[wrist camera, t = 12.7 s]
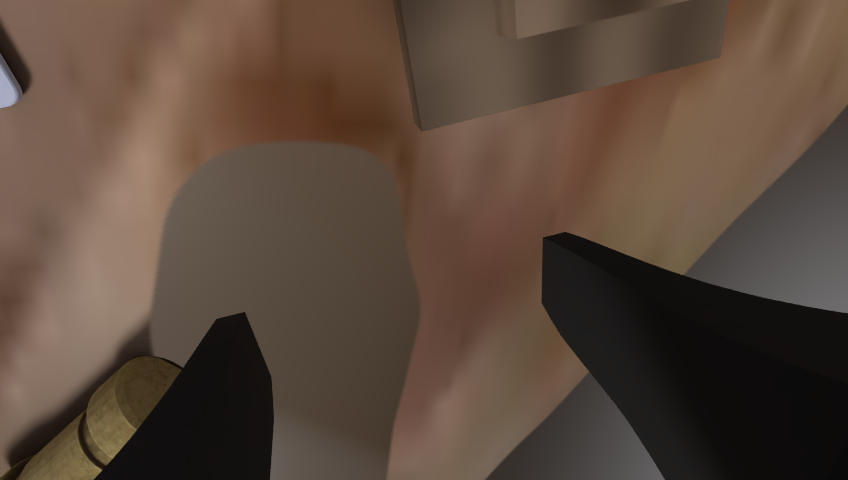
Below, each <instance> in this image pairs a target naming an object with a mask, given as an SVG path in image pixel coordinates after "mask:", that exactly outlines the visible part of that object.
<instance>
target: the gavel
mask: <svg viewBox="0 0 848 480" xmlns="http://www.w3.org/2000/svg"><path fill="white" fill-rule="evenodd" d="M182 369H183V367H181V366H180V365H178V364H176V363H174V362H173V361H170V360H167V359H165V358H161V357H156V356H154V357H150V356H142V357H137V358H135V359H132V360H130V361H129V362H127V363H126V364H124V365H123V366H122V367H121V368H120V369H119V370H118V371H117V372H115V373H114V374H113V375H112V376H111V377H110V378H109V379H108V380H107V381H106V382H105V383H103V384H102V385H101V386H100V387H99V388H98V389H97V390H96V391H95V392H94V394H93V395H92V397H91V399H90V401H89V403H88V407H87V409H86V410H84V411H83V412H82V413H81V414H80V415H79V416H78V417H77V418H76V419H75V420H73V421H72V422H71V423H70V424H69V425H68V426H67V427H66V428H65V429H64V430H63V431H61V432H60V433H59V434H58V435H57V436H56V437H55V438H54V439H53V440H52V441H50V442H49V443H48V444H47V445H46V446H45V447H44V448H43V449H42V450H41V451H39V452H38V453H37V454H36V455H34V456H31V457H28V458H26V459H24V460H22V461H20V462H19V463H17V464H16V465H15V466H13V467H12V468H11V469H10V470H8V471H7V472H6V473H5V474H4V475H3V476H2V477H1V478H0V480H94V479H95V478H96V476H97V475H98V474H99V473H100V472H101V471H102V470H103V469H104V468H105V467H106V465H107V464H108V463H109V462H110V461H111V460H112V459H113V458H114V457H115V455H116V454H117V453H118V452H119V451H120V450H121V448H122V447H123V446H124V445H125V444H126V443H127V441H128V440H129V439H130V438H131V437H132V435H133V434H134V433H135V432H136V430H137V429H138V428H139V427H140V425H141V424H142V423H143V421H144V420H145V419H146V417H147V416H148V415H149V414H150V412H151V411H152V410H153V408H154V407H155V406H156V405H157V403H158V402H159V401H160V399H161V398H162V397H163V396H164V394H165V393H166V391H167V390H168V389H169V387H170V386H171V384H172V383H173V382H174V380H175V379H176V377H177V376H178V374H179V373H180V372H181V370H182Z"/></svg>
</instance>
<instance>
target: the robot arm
mask: <svg viewBox="0 0 848 480" xmlns="http://www.w3.org/2000/svg"><path fill="white" fill-rule="evenodd" d="M21 98H22V90H21V87H20V85H19V83H18V82H17V80H16V78H15V77H14V75H13V73H12V72H11V70H10V68H9V67H8V65H7V64H6V62H5V60H4V59H3V57H2V55H1V54H0V108H3V107H8V106H10V105H13V104H15V103H17V102H19V101H20V99H21ZM542 304H543V306H544V308H545V309H546V311H547V313H548V315H549V317H550V318H551V320H552V322H553V323H554V325H555V327H556V328H557V330H558V332H559V333H560V335H561V336H562V337H563V339H564V340H565V341H566V343H567V344H568V345H569V347H570V348H571V349H572V350H573V352H574V353H575V354H576V355H577V357H578V358H579V359H580V361H581V362H582V363H583V364H584V366H585V367H586V368H587V369H588V371H589V372H590V373H591V374H592V376H593V377H594V378H595V379H596V380H597V382H598V383H599V384H600V385H601V387H602V388H603V389H604V390H605V392H606V393H607V394H608V395H609V397H610V398H611V399H612V400H613V402H614V403H615V404H616V405H617V407H618V408H619V410H620V411H621V412H622V414H623V415H624V416H625V418H626V419H627V421H628V422H629V423H630V425H631V427H632V428H633V430H634V431H635V432H636V434H637V436H638V437H639V439H640V440H641V442H642V444H643V445H644V446H645V448H646V450H647V451H648V453H649V454H650V456H651V457H652V459H653V461H654V462H655V464H656V466H657V467H658V469H659V471H660V472H661V474H662V475H663V477H664V479H665V480H848V313H841V312H835V311H829V310H823V309H817V308H811V307H806V306H801V305H796V304H791V303H786V302H781V301H776V300H771V299H767V298H762V297H758V296H754V295H750V294H746V293H742V292H738V291H734V290H731V289H727V288H723V287H719V286H716V285H712V284H708V283H705V282H702V281H699V280H696V279H693V278H689V277H686V276H684V275H680V274H677V273H674V272H671V271H668V270H666V269H663V268H660V267H657V266H655V265H652V264H649V263H646V262H644V261H641V260H638V259H636V258H633V257H631V256H628V255H626V254H623V253H620V252H618V251H615V250H613V249H610V248H608V247H605V246H603V245H600V244H598V243H595V242H593V241H590V240H587V239H585V238H582V237H579V236H576V235H574V234H570V233H567V232H564V233H559V234H555V235H551V236H547V237H543V259H542ZM273 424H274V412H273V394H272V381H271V375H270V373H269V370H268V368H267V365H266V363H265V361H264V358H263V356H262V353H261V351H260V348H259V346H258V343H257V341H256V338H255V336H254V333H253V331H252V328H251V326H250V324H249V321H248V319H247V316H246V314H245V312H243V313H239V314H235V315H231V316H227V317H223V318H219V319H216V321H215V322H214V324H213V325H212V326H211V328H210V329H209V331H208V332H207V333H206V335H205V336H204V338H203V339H202V341H201V342H200V344H199V345H198V347H197V348H196V350H195V351H194V353H193V354H192V356H191V357H190V359H189V360H188V362H187V363H186V364H185V366H184V367H183V369H182V370H181V372H180V373H179V374H178V376H177V377H176V379H175V380H174V382H173V383H172V384H171V386H170V387H169V389H168V390H167V391H166V393H165V394H164V396H163V397H162V398H161V399H160V401H159V402H158V403H157V405H156V406H155V407H154V408H153V410H152V411H151V412H150V414H149V415H148V416H147V417H146V419H145V420H144V421H143V423H142V424H141V425H140V427H139V428H138V429H137V430H136V432H135V433H134V434H133V435H132V437H131V438H130V439H129V440H128V441H127V443H126V444H125V445H124V446H123V447H122V448H121V450H120V451H119V452H118V453H117V454H116V455H115V457H114V458H113V459H112V460H111V461H110V462H109V463H108V464H107V465H106V467H105V468H104V469H103V470H102V471H101V472H100V473H99V474H98V475H97V476H96V478H95V479H94V480H270V469H271V454H272V439H273Z"/></svg>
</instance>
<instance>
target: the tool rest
mask: <svg viewBox="0 0 848 480" xmlns="http://www.w3.org/2000/svg"><path fill="white" fill-rule="evenodd" d="M393 1H394V7H395V12H396V18H397V24H398V29H399V35H400V41H401V46H402V52H403V58H404V64H405V69H406V75H407V81H408V86H409V92H410V98H411V103H412V109H413V115H414V120H415V124H416V125H417V126H418V127H419V128H420V130H421V131H426V130H430V129H434V128H438V127H442V126H446V125H450V124H454V123H458V122H462V121H466V120H470V119H474V118H478V117H482V116H486V115H490V114H494V113H498V112H502V111H506V110H511V109H515V108H519V107H523V106H527V105H531V104H535V103H539V102H543V101H547V100H551V99H555V98H559V97H563V96H567V95H571V94H575V93H579V92H583V91H587V90H591V89H595V88H599V87H603V86H607V85H611V84H615V83H619V82H623V81H627V80H631V79H635V78H639V77H644V76H648V75H652V74H656V73H660V72H664V71H668V70H672V69H676V68H680V67H684V66H688V65H692V64H696V63H700V62H704V61H708V60H712V59H716V58H720V54H721V48H722V42H723V36H724V29H725V23H726V17H727V11H728V5H729V0H393Z"/></svg>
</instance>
